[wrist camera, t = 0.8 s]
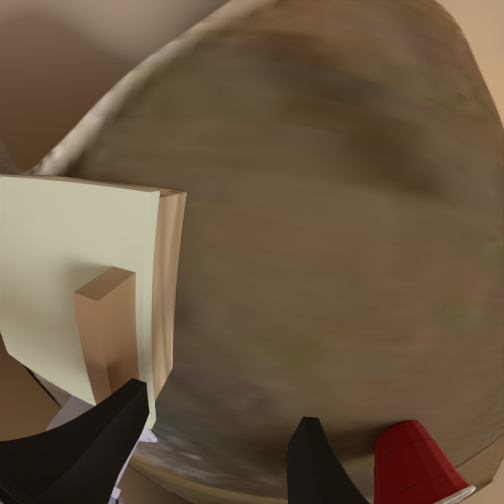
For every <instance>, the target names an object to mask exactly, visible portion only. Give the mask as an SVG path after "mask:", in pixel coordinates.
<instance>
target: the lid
mask: <svg viewBox="0 0 504 504" xmlns="http://www.w3.org/2000/svg"><path fill="white" fill-rule="evenodd" d="M159 196H160V191H159V190H152V189H145V188H138V187H130V186H122V185H114V184H106V183H98V182H89V181H79V180H69V179H59V178H47V177H35V176H20V175H3V174H0V331H1V334H2V337H3V341H4V344H5V346H6V349H7V352H8V353H9V354H10V355H11V356H13V357H14V358H15V359H17V360H18V361H20V362H21V363H22V364H24V365H25V366H26V367H28V368H29V369H31V370H32V371H34V372H35V373H37V374H38V375H40V376H42V377H43V378H45V379H46V380H48V381H50V382H51V383H53V384H55V385H56V386H58V387H60V388H61V389H63V390H65V391H67V392H68V393H70V394H72V395H74V396H76V397H78V398H80V399H82V400H84V401H86V402H87V403H90V404H92V405H94V406H96V405H97V404H98V403H100V402H101V401H103V400H104V399H106V398H107V397H108V396H110V395H111V394H112V393H114V392H115V391H116V390H118V389H119V388H120V387H121V386H123V385H124V384H125V383H126V382H128V381H129V380H130V379H132V378H134V379H137V380H140V381H143V382H146V383H147V393H148V403H149V412H150V413H149V416H148V419H147V421H146V424H145V426H144V427H146V428H149V429H152V427H153V425H154V423H155V421H156V413H155V402H154V388H153V370H152V332H151V318H152V279H153V261H154V246H155V234H156V223H157V213H158V205H159Z"/></svg>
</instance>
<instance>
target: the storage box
mask: <svg viewBox="0 0 504 504" xmlns="http://www.w3.org/2000/svg"><path fill="white" fill-rule="evenodd" d="M35 177H47V178H59V179H69V180H79V181H89V182H98V183H106V184H114V185H122V186H130V187H138V188H145V189H152V190H159V191H160V196H159V205H158V213H157V223H156V234H155V246H154V261H153V279H152V318H151V332H152V370H153V388H154V402H155V400H156V399H157V397H158V395H159V393H160V391H161V389H162V387H163V385H164V383H165V381H166V379H167V377H168V375H169V373H170V372H171V370H172V359H173V330H174V312H175V296H176V283H177V271H178V261H179V251H180V241H181V233H182V224H183V216H184V209H185V201H186V194H187V192H183V191H177V190H170V189H163V188H156V187H149V186H142V185H134V184H126V183H118V182H110V181H101V180H92V179H82V178H72V177H60V176H48V175H35Z"/></svg>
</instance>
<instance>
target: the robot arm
mask: <svg viewBox="0 0 504 504" xmlns="http://www.w3.org/2000/svg"><path fill="white" fill-rule="evenodd" d="M69 395H70V396H71V398H70V399H69V400H68V401H67V403H66V404H65V405H64V406H63V408H62V409H61V410H60V411H59V413H58V414H57V415H56V417H55V418H54V419H53V420H52V422H51V423H50V424H49V426H48V428H47V430H46V431H45V432H42V433H40V434H36V435H32V436H29V437H24V438H20V439H15V440H8V441H0V504H124V503H123V500H122V498H120V497H119V494H120V492H121V490H120V489H118V488H116V487H117V485H118V483H119V480H120V478H121V476H122V474H123V472H124V470H125V468H126V466H127V464H128V462H129V460H130V458H131V456H132V454H133V452H134V450H135V447H136V445H137V443H138V441H146V442H157V440H158V439H157V438H156V436H155V435H154V434H153V433H152V431H151V430H150V429H149V428H146V427H144V426H145V424H146V421H147V419H148V416H149V413H150V412H149V403H148V393H147V383H146V382H143V381H140V380H137V379H134V378H132V379H130V380H129V381H128V382H126V383H125V384H124V385H123V386H121V387H120V388H119V389H118V390H116V391H115V392H114V393H112V394H111V395H110V396H108V397H107V398H106V399H104V400H103V401H101V402H100V403H98V404H97V405H96V406H94V405H92V404H90V403H87V402H86V401H84V400H82V399H80V398H78V397H76V396H74V395H72V394H70V393H69ZM287 486H288V504H370V503H369V502H368V501H367V500H366V499H365V497H364V496H363V495H362V494H361V493H360V491H359V490H358V489H357V487H356V486H355V485H354V483H353V482H352V480H351V479H350V477H349V476H348V474H347V473H346V471H345V470H344V468H343V466H342V465H341V463H340V461H339V459H338V457H337V456H336V454H335V452H334V450H333V448H332V446H331V444H330V442H329V440H328V438H327V436H326V434H325V432H324V429H323V427H322V425H321V423H320V420H319V419H318V418H314V417H302V419H301V421H300V423H299V425H298V427H297V429H296V431H295V433H294V434H293V436H292V438H291V440H290V442H289V445H288V455H287Z"/></svg>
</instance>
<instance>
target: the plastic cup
mask: <svg viewBox="0 0 504 504" xmlns="http://www.w3.org/2000/svg"><path fill="white" fill-rule="evenodd" d="M374 457H375V467H374V504H456V503H457V502H459V501H460V500H462V499H463V498H465V497H466V496H468V495H469V494H470V493H472V492H473V491H474V490H475V489H476V488H475V487H474V486H471V485H469V484H468V483H467V482H466V481H465V479H463V478H462V476H461V475H460V473H458V472H457V471H456V469H455V468H454V466H453V465H452V464H451V462H450V461H449V459H448V458H447V457H446V455H445V454H444V452H443V451H442V449H441V448H440V447H439V445H438V444H437V443H436V441H435V440H433V439H432V437H431V436H430V434H429V433H428V432H427V430H426V429H425V427H424V426H423V425H422V424H420V423H419V422H418V421H412V420H411V421H406V422H402V423H400V424H397V425H395V426H393V427H391V428H389V429H388V430H386V431H384V432H383V433H382V434H381V435H380V436H379V437H378V438H377V440H376V441H375V447H374Z"/></svg>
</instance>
